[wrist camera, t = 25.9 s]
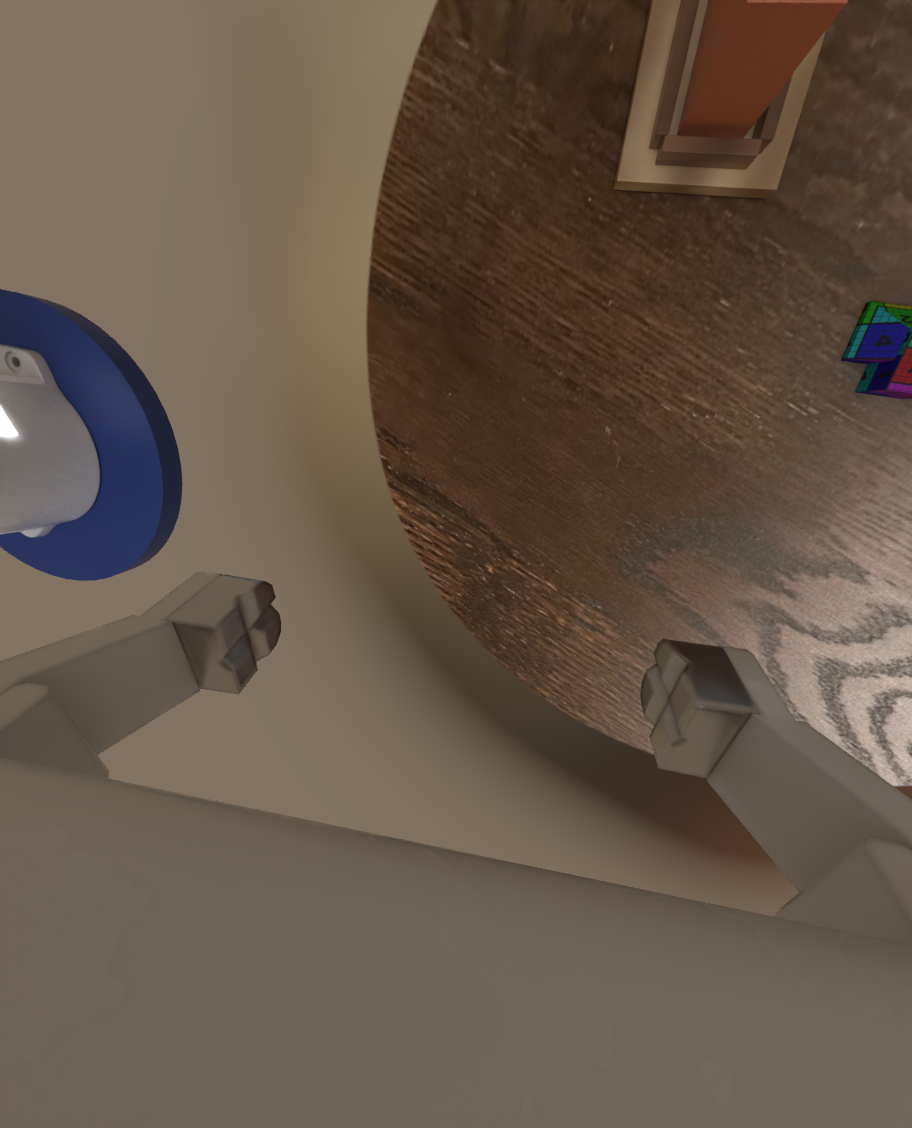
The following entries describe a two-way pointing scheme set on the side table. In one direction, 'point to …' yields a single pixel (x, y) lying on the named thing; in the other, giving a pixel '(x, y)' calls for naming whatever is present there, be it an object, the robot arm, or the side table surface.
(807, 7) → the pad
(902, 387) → the numbered block arch
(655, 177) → the pad base
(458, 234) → the side table surface
